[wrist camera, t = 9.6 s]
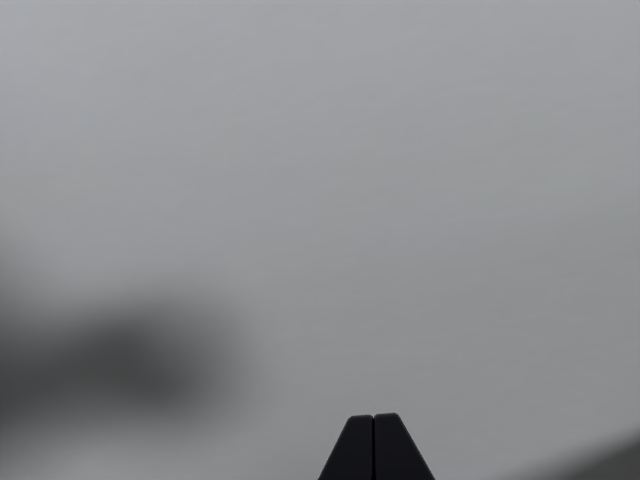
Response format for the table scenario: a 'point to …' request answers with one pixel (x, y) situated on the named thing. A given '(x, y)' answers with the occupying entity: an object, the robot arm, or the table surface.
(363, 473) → the robot arm
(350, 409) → the table surface
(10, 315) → the table surface
